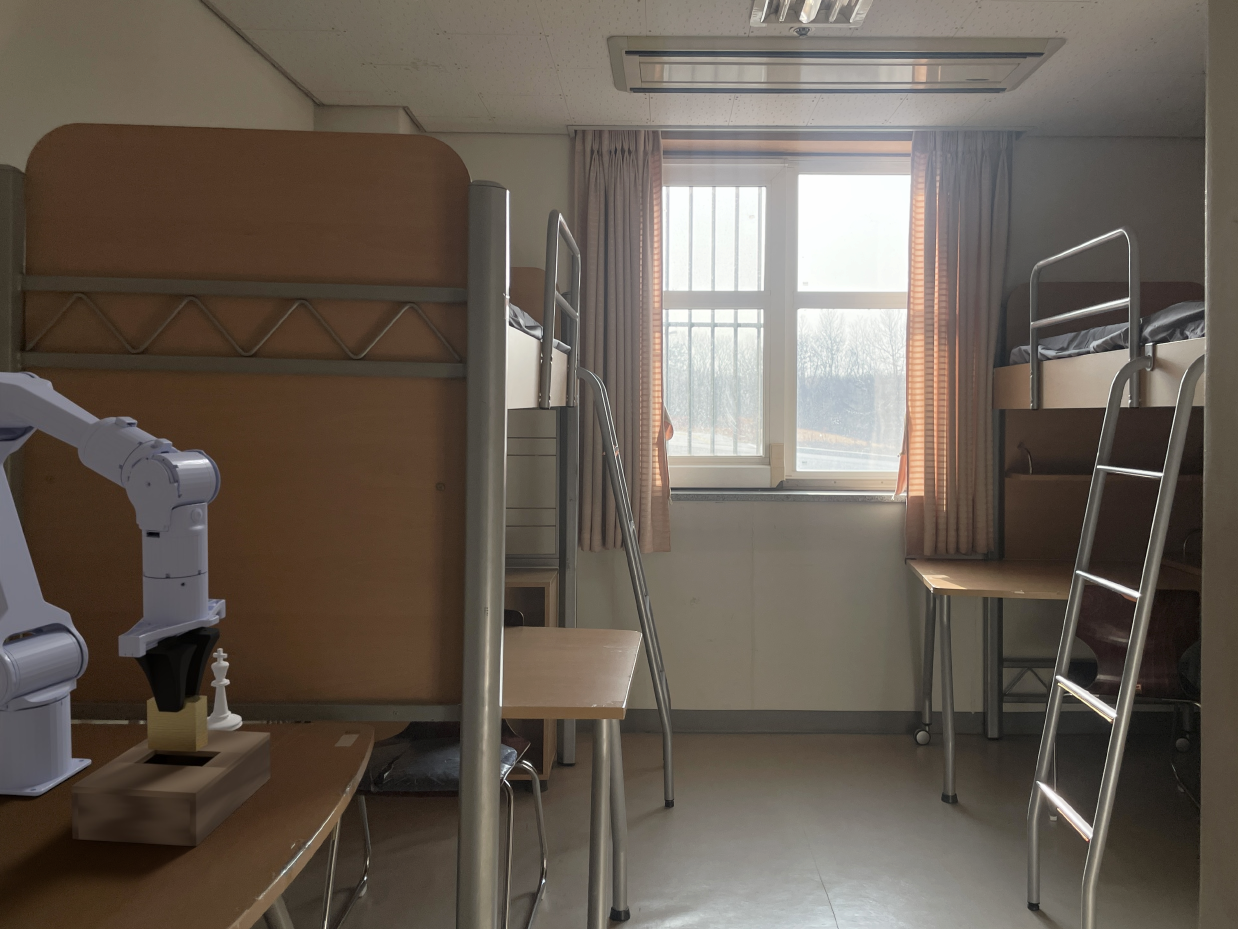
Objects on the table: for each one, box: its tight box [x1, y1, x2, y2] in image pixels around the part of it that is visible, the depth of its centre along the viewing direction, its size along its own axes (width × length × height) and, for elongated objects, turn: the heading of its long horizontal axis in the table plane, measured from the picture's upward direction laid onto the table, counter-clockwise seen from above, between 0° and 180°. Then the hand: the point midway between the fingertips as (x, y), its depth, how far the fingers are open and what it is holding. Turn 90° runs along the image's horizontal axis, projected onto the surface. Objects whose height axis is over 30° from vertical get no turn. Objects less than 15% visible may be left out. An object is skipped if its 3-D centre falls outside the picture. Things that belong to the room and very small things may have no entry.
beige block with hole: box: [70, 730, 271, 847], centre depth 83 cm, size 12×14×5 cm
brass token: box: [146, 694, 208, 752], centre depth 82 cm, size 5×2×5 cm, turn 87°
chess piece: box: [207, 648, 243, 731], centre depth 103 cm, size 5×5×10 cm
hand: (177, 706), depth 82 cm, fingers closed on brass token, 2 cm apart
